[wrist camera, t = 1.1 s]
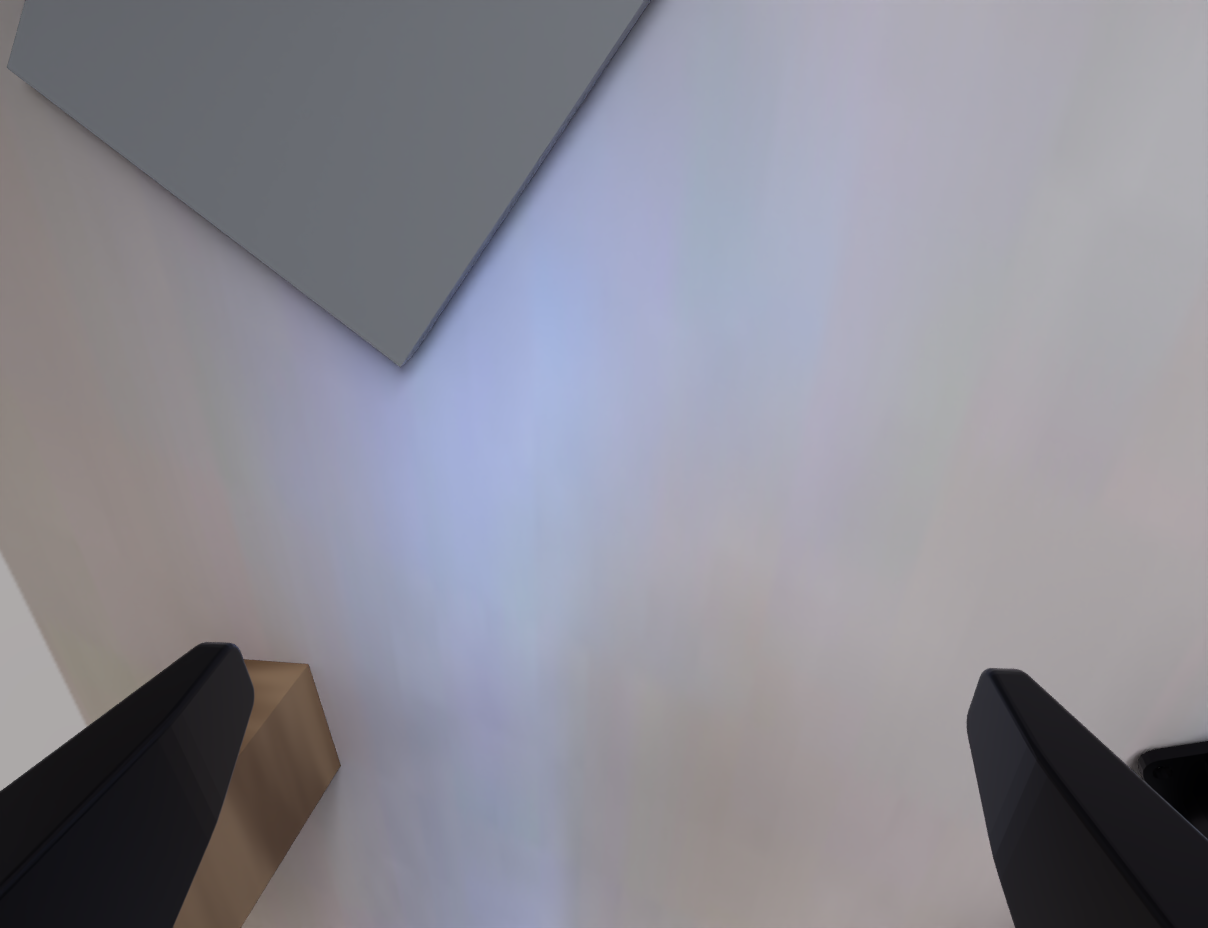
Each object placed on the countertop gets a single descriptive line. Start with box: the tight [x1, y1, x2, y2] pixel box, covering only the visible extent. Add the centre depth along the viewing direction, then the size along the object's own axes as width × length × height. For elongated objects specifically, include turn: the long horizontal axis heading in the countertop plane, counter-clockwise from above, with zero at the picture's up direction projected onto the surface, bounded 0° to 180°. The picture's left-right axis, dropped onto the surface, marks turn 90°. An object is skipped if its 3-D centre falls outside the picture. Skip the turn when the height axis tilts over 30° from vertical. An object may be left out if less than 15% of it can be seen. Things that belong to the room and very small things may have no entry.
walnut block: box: [173, 659, 341, 928], centre depth 27 cm, size 5×5×10 cm
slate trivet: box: [7, 0, 651, 367], centre depth 19 cm, size 12×12×1 cm
